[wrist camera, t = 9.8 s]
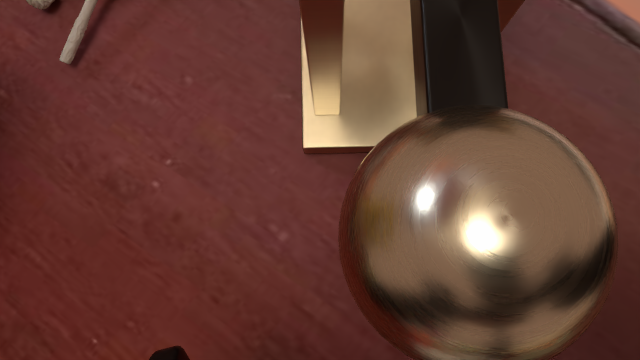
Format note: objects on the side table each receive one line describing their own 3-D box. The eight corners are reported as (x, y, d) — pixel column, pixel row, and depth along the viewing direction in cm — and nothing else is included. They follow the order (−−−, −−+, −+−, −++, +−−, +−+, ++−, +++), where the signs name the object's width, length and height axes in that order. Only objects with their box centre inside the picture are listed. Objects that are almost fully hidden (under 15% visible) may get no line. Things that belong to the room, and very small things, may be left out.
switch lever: (564, 359, 9) (712, 395, 5) (340, 363, 9) (343, 399, 6) (503, -189, 11) (578, -412, 8) (326, -183, 11) (322, -400, 8)
